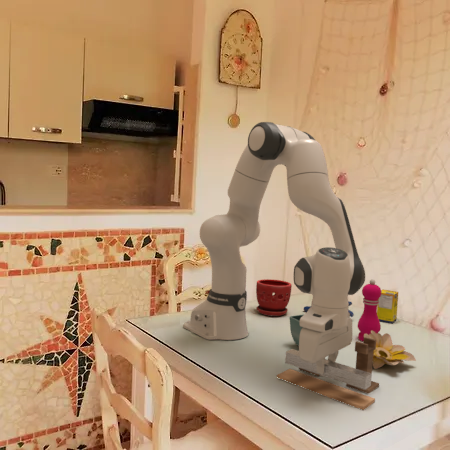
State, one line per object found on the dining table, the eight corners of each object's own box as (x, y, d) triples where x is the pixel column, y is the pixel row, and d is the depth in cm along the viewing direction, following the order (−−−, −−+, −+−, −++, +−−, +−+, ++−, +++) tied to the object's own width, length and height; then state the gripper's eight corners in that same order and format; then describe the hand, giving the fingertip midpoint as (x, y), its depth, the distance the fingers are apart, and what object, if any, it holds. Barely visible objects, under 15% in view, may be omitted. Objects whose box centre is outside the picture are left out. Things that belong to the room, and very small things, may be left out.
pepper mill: (380, 344, 157) (385, 282, 154) (357, 342, 158) (361, 280, 156) (378, 337, 164) (383, 278, 161) (355, 335, 165) (360, 276, 163)
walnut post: (346, 386, 124) (349, 340, 123) (357, 379, 129) (360, 335, 128) (368, 393, 121) (372, 347, 119) (378, 386, 125) (382, 341, 124)
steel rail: (285, 363, 128) (285, 351, 127) (291, 359, 130) (292, 348, 129) (365, 389, 113) (366, 377, 113) (370, 385, 115) (371, 373, 115)
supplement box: (396, 320, 185) (398, 291, 183) (392, 324, 179) (394, 294, 178) (380, 317, 188) (382, 288, 186) (376, 320, 183) (378, 291, 181)
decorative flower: (387, 373, 129) (384, 334, 130) (353, 368, 138) (351, 332, 140) (422, 367, 137) (419, 330, 139) (388, 363, 147) (386, 328, 148)
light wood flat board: (276, 377, 128) (276, 374, 127) (289, 371, 132) (289, 368, 132) (363, 410, 112) (363, 406, 112) (374, 401, 116) (375, 398, 116)
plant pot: (291, 318, 180) (293, 286, 179) (255, 317, 181) (257, 285, 179) (287, 309, 193) (289, 278, 192) (254, 307, 194) (255, 277, 192)
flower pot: (304, 353, 146) (305, 324, 145) (287, 344, 153) (288, 315, 152) (327, 350, 150) (329, 321, 149) (309, 340, 158) (311, 313, 157)
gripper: (338, 305, 130) (334, 356, 131) (295, 320, 114) (292, 378, 116) (360, 310, 126) (356, 362, 127) (319, 327, 110) (315, 386, 112)
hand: (325, 370), depth 121 cm, fingers closed on steel rail, 3 cm apart
